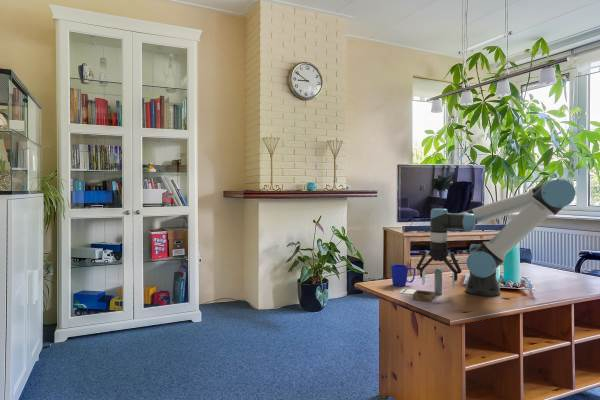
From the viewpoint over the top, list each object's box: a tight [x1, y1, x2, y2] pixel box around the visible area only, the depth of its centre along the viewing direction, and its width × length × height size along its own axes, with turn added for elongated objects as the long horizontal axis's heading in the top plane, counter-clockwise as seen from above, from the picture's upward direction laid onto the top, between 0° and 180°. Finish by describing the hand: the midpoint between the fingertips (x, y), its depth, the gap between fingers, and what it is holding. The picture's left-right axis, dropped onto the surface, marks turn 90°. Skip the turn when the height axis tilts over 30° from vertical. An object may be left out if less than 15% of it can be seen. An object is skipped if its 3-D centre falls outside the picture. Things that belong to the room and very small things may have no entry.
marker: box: [433, 267, 443, 296], centre depth 187 cm, size 3×3×12 cm
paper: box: [398, 288, 418, 296], centre depth 189 cm, size 14×9×1 cm, turn 61°
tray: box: [412, 289, 436, 303], centre depth 179 cm, size 8×8×3 cm
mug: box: [390, 264, 416, 287], centre depth 204 cm, size 8×12×10 cm
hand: (438, 286), depth 187 cm, fingers open, 13 cm apart
